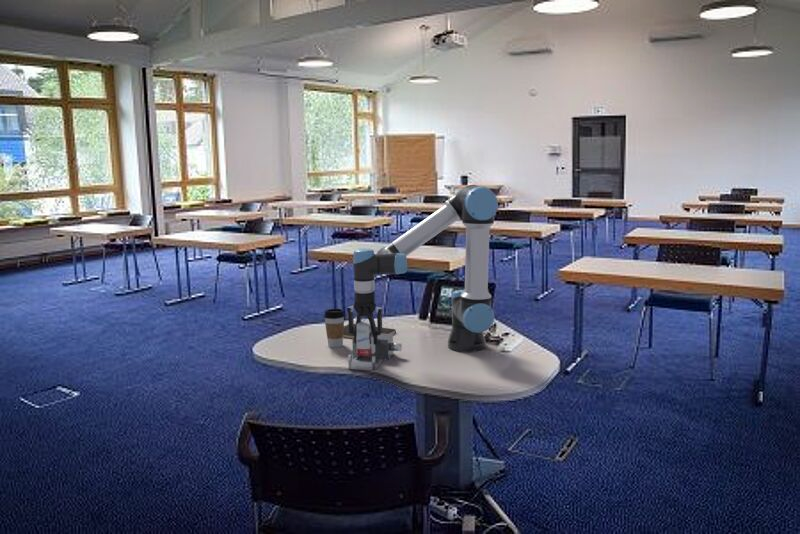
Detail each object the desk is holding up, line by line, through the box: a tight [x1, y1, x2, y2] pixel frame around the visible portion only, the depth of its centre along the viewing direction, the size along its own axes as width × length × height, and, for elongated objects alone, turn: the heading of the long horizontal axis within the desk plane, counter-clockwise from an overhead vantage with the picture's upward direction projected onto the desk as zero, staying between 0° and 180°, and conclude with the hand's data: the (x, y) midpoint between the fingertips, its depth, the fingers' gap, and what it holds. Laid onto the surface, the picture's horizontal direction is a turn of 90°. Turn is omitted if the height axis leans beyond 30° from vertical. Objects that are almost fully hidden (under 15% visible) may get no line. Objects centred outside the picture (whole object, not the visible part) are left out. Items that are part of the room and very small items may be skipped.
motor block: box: [351, 333, 403, 361], centre depth 257 cm, size 18×8×10 cm, turn 77°
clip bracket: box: [347, 354, 384, 371], centre depth 248 cm, size 10×12×5 cm
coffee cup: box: [323, 308, 345, 349], centre depth 272 cm, size 8×8×15 cm
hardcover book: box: [343, 323, 397, 339], centre depth 289 cm, size 16×23×2 cm
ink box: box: [356, 319, 373, 356], centre depth 247 cm, size 9×5×12 cm, turn 168°
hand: (366, 352), depth 249 cm, fingers closed on ink box, 5 cm apart
